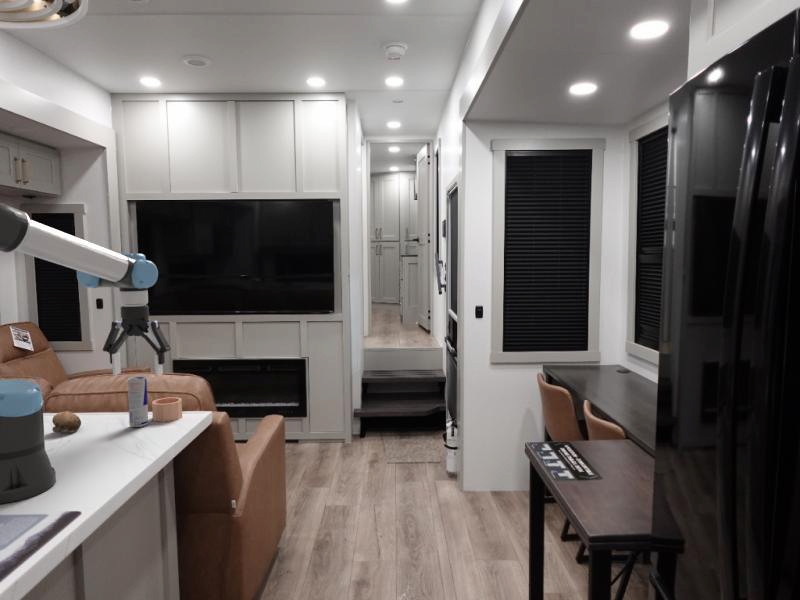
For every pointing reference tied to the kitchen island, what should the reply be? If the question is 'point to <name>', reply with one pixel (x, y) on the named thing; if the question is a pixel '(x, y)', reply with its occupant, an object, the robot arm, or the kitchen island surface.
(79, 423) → the mushroom
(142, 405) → the beverage can
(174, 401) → the light orange hollow cylinder
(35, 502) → the kitchen island surface
